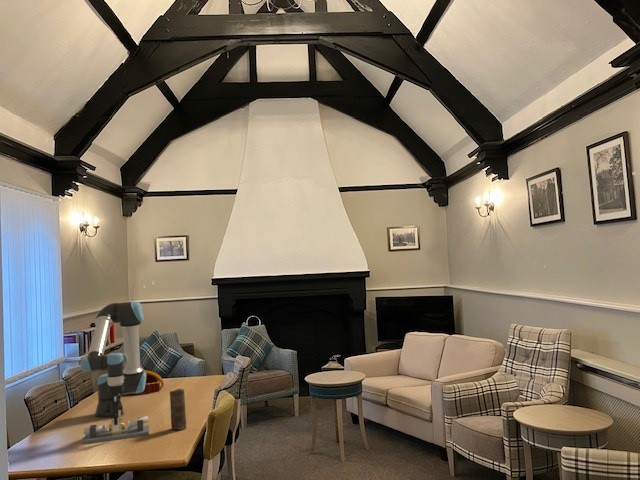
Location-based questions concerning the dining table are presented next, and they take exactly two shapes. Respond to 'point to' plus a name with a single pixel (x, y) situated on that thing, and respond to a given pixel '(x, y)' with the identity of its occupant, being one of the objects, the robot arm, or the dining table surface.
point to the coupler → (121, 426)
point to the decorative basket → (152, 382)
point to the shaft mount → (101, 434)
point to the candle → (178, 409)
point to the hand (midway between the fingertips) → (117, 427)
